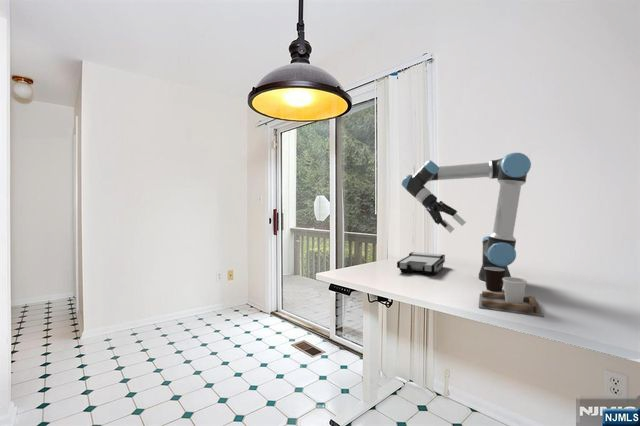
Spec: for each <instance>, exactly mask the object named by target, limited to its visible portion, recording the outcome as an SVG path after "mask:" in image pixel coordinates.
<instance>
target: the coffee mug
mask: <svg viewBox="0 0 640 426" xmlns="http://www.w3.org/2000/svg"><path fill="white" fill-rule="evenodd" d="M484 271H485V280H486V281H485V288H486V291H488V292H497V293H503V289H504V284H503V280H502V278H504V274H505V269H502V268H497V267H485V268H484Z"/></svg>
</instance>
